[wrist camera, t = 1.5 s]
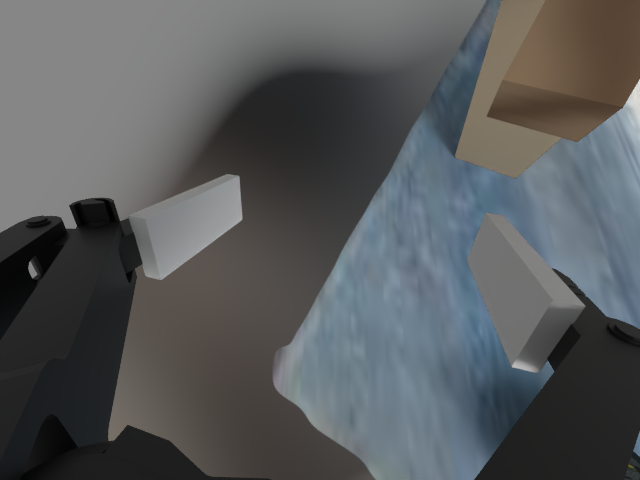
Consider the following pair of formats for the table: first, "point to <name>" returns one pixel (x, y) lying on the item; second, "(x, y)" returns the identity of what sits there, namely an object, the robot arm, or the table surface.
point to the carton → (487, 133)
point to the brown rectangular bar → (572, 68)
